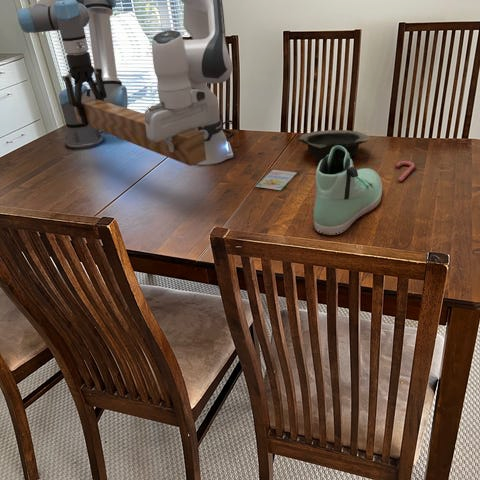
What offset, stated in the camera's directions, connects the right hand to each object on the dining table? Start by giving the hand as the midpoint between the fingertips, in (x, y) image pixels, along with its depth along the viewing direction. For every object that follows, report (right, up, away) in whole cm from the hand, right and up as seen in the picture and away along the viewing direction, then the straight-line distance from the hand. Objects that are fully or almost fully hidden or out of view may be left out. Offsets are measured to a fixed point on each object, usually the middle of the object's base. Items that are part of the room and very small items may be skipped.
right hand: (183, 147), depth 135 cm
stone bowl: (+50, +4, +39) cm, 63 cm away
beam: (-18, +6, +18) cm, 26 cm away
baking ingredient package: (+28, -6, +24) cm, 38 cm away
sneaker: (+47, -17, +4) cm, 51 cm away
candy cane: (+69, -4, +22) cm, 73 cm away
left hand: (-36, +16, +34) cm, 52 cm away
